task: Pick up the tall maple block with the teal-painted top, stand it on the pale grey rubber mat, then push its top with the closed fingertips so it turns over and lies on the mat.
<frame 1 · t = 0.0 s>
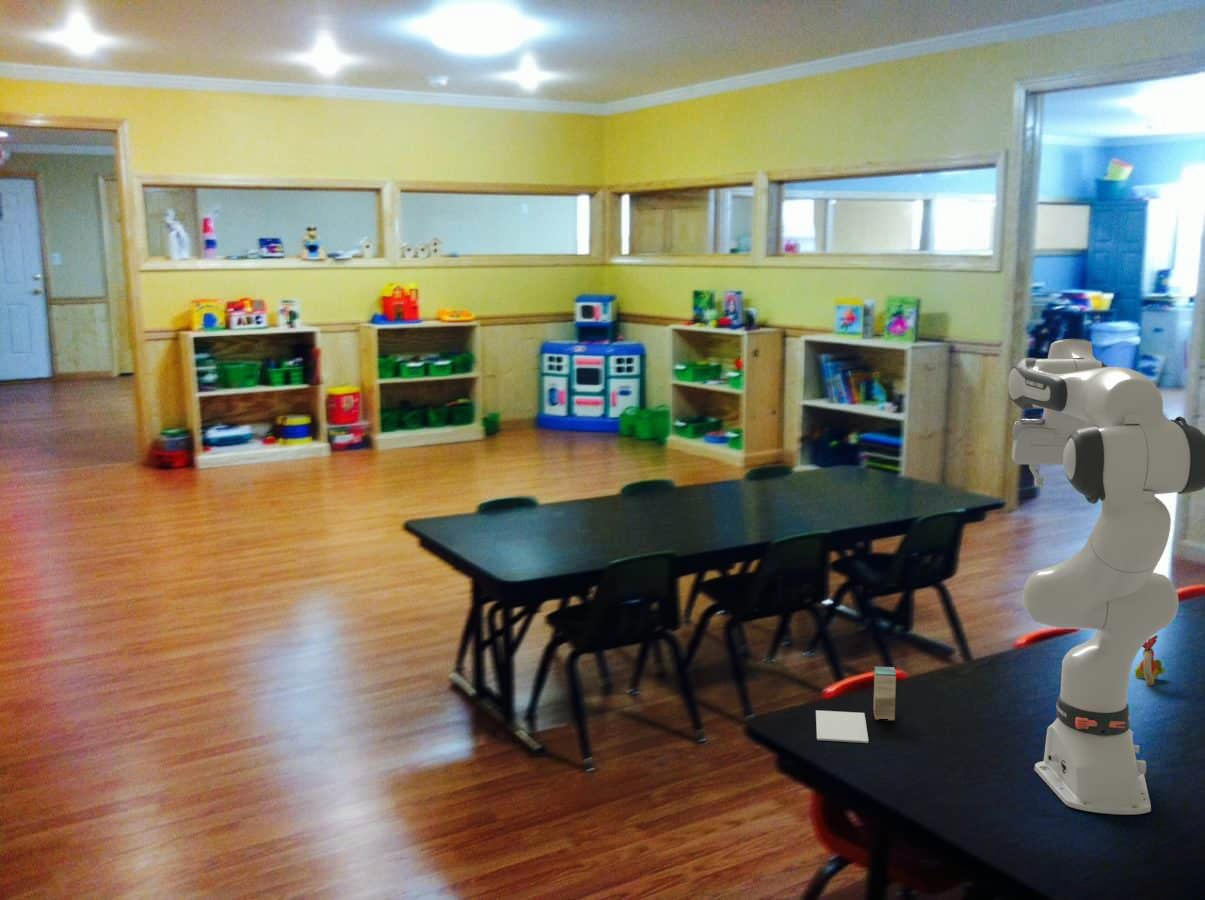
hand: (1063, 486, 223), 48 cm above the table, fingers open, 8 cm apart
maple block: (883, 715, 228), on the table
grey mat: (841, 727, 223), on the table
bird rattle: (1149, 682, 245), on the table
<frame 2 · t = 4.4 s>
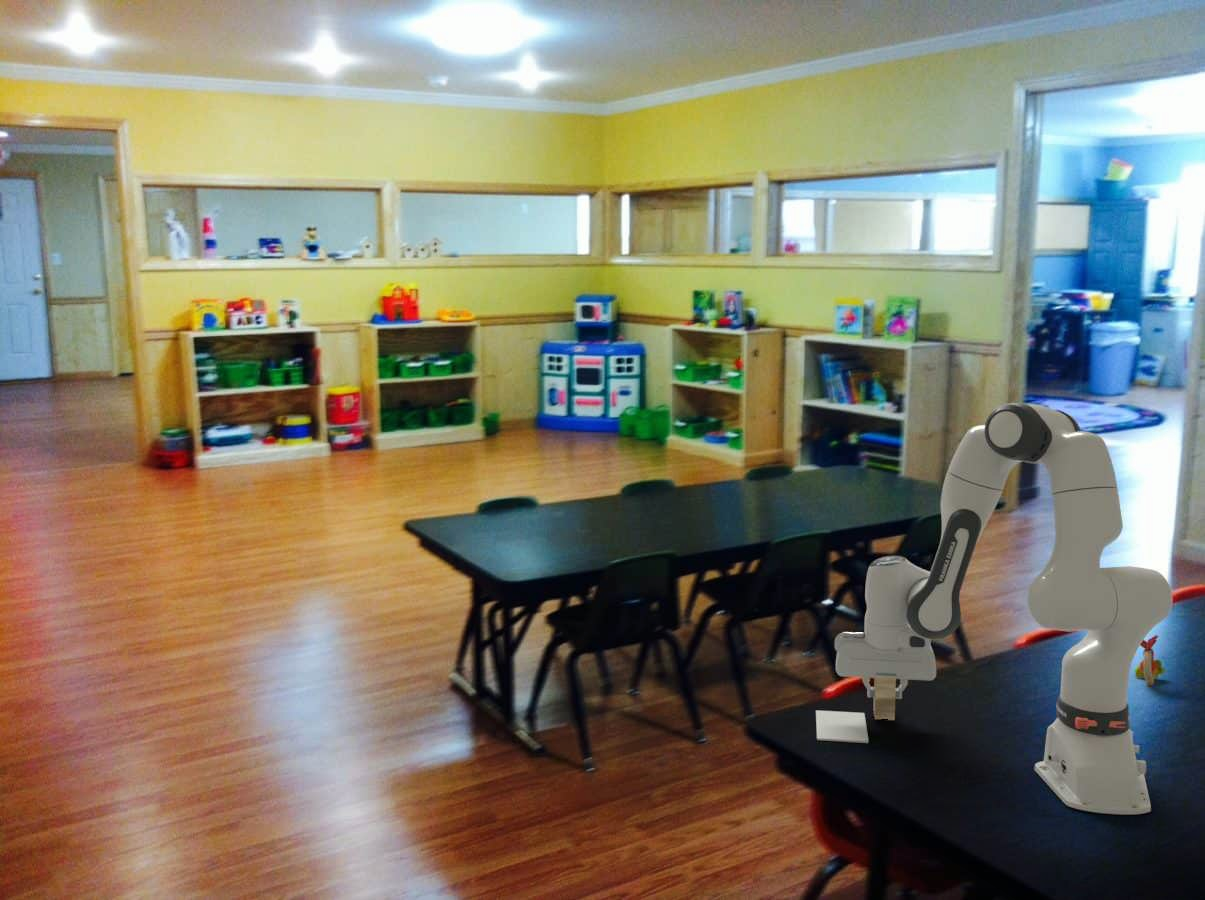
hand: (884, 697, 228), 4 cm above the table, fingers closed on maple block, 4 cm apart
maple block: (883, 715, 228), on the table, touching gripper
everything else where it was.
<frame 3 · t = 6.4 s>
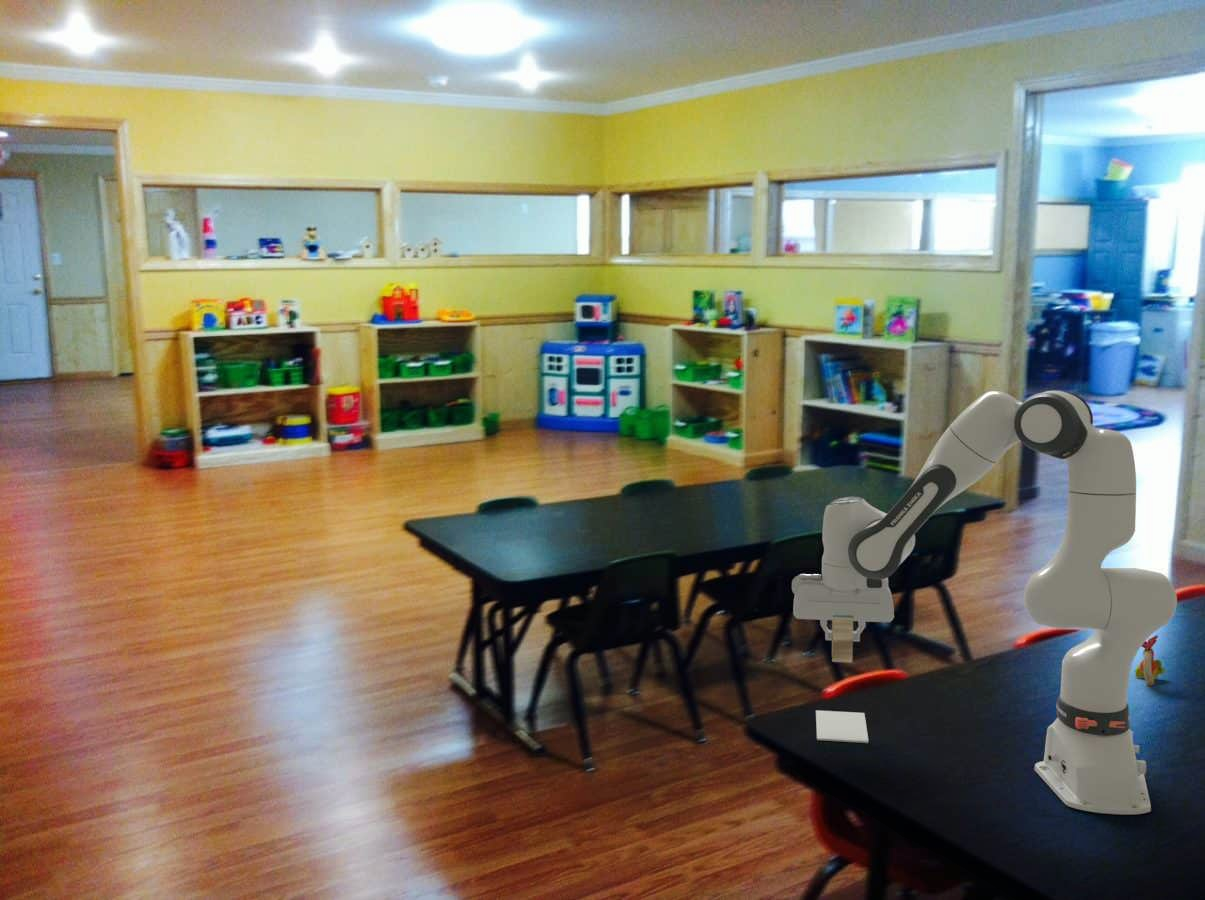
hand: (842, 640, 225), 17 cm above the table, fingers closed on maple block, 4 cm apart
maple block: (842, 658, 226), point 13 cm above the table, touching gripper
everything else where it was.
when the fingers open (6 cm above the table, at t = 8.7 s): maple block drops 1 cm, resting on grey mat.
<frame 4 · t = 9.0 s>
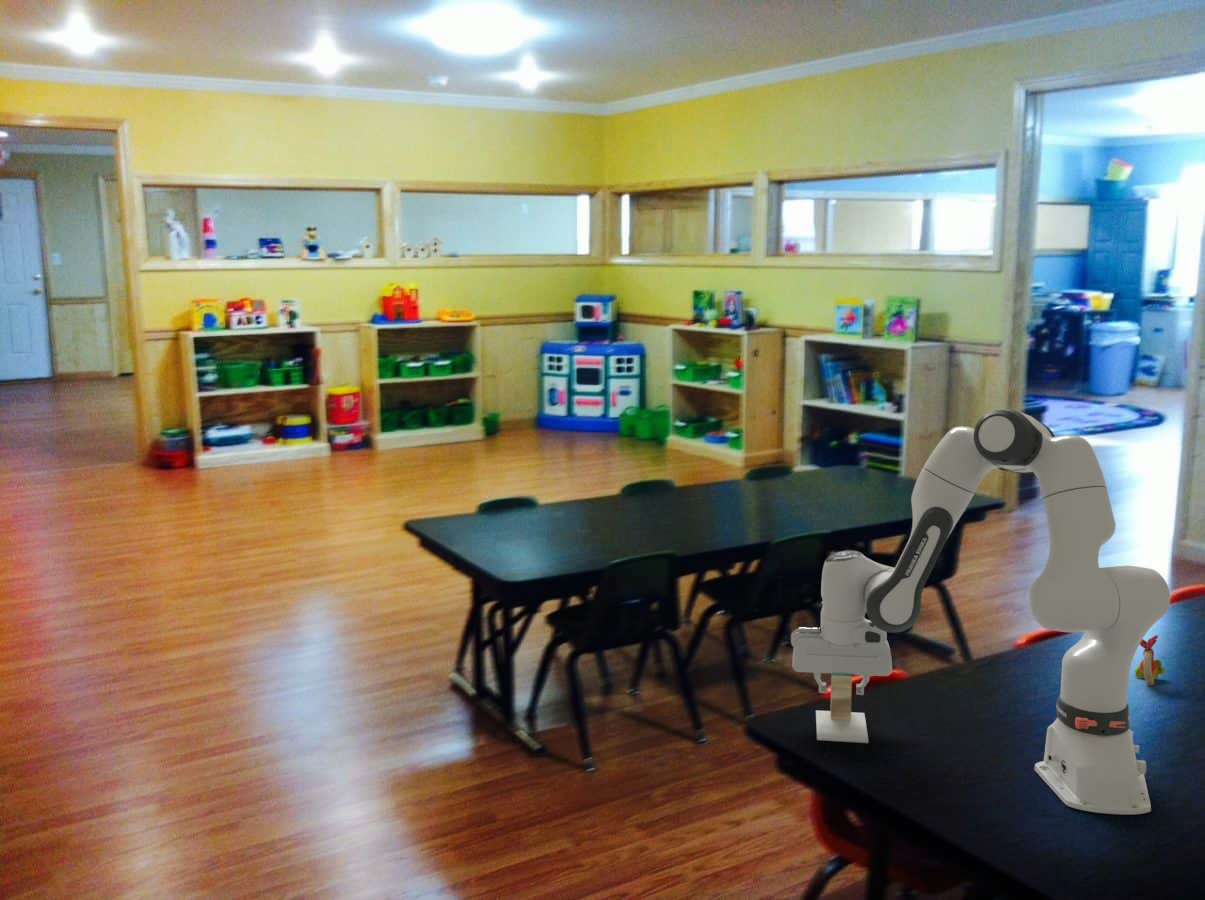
hand: (841, 692, 227), 6 cm above the table, fingers open, 6 cm apart
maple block: (840, 716, 228), resting on grey mat
everything else where it was.
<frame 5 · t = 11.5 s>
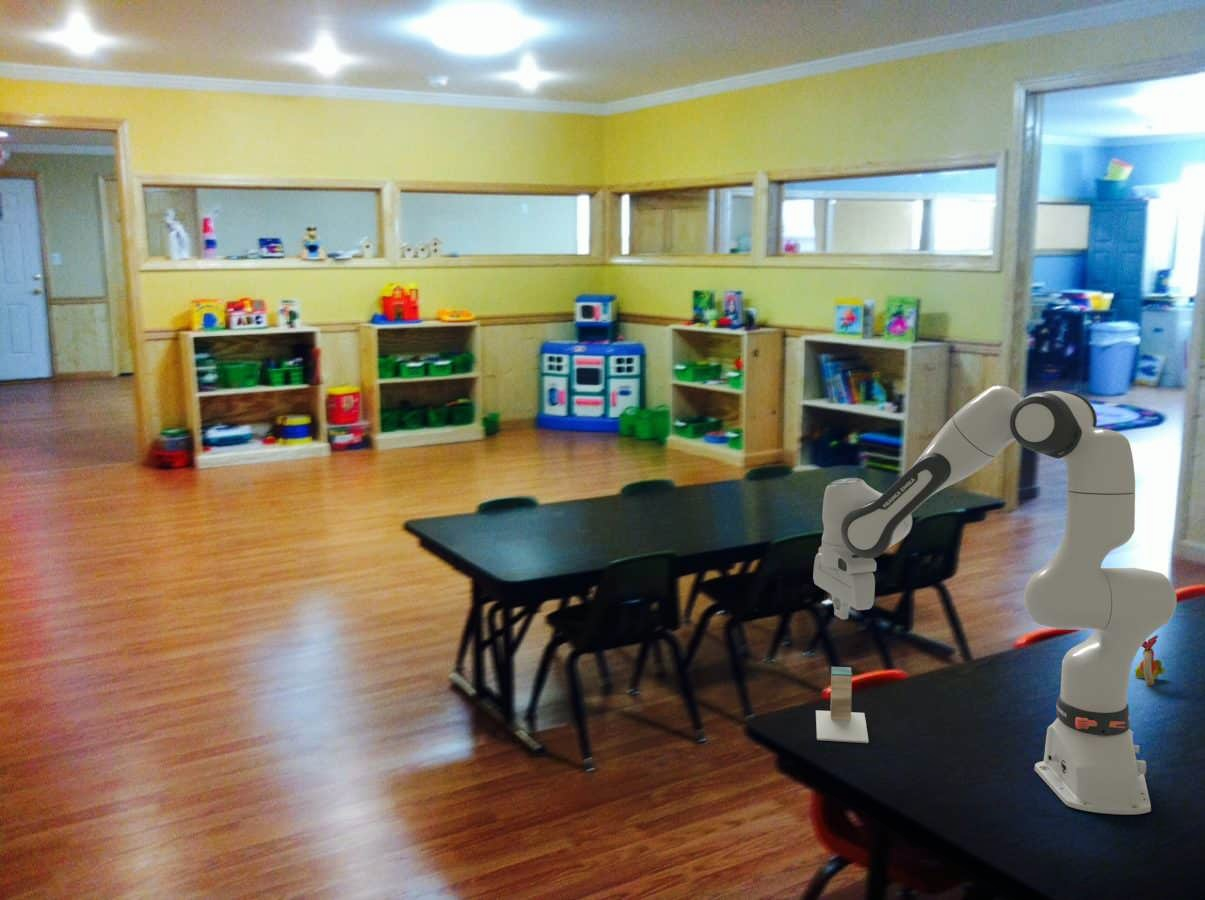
hand: (841, 617, 231), 20 cm above the table, fingers closed
nothing on the table moved.
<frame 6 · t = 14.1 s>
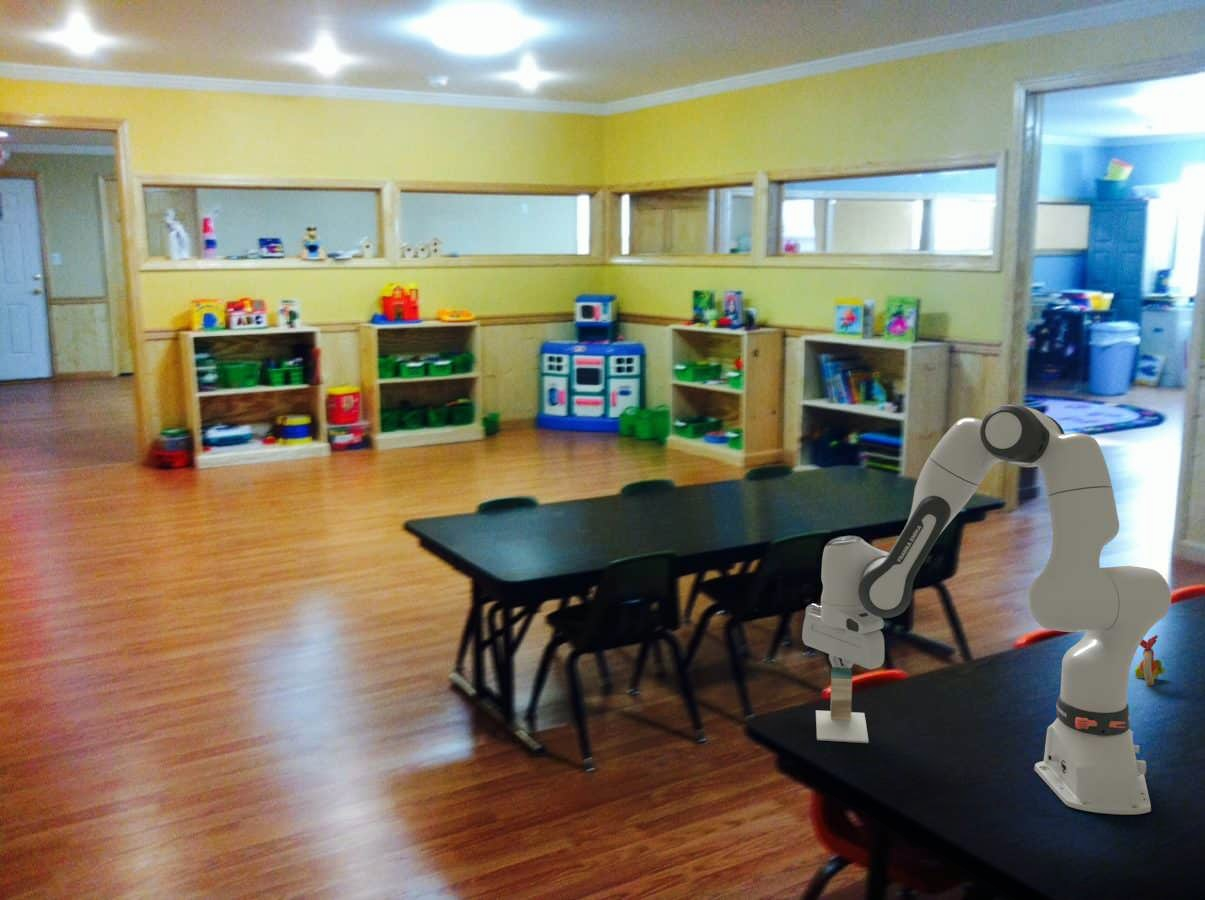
hand: (841, 676, 229), 8 cm above the table, fingers closed
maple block: (840, 715, 228), point 1 cm above the table, tilted 8°, touching grey mat
everything else where it was.
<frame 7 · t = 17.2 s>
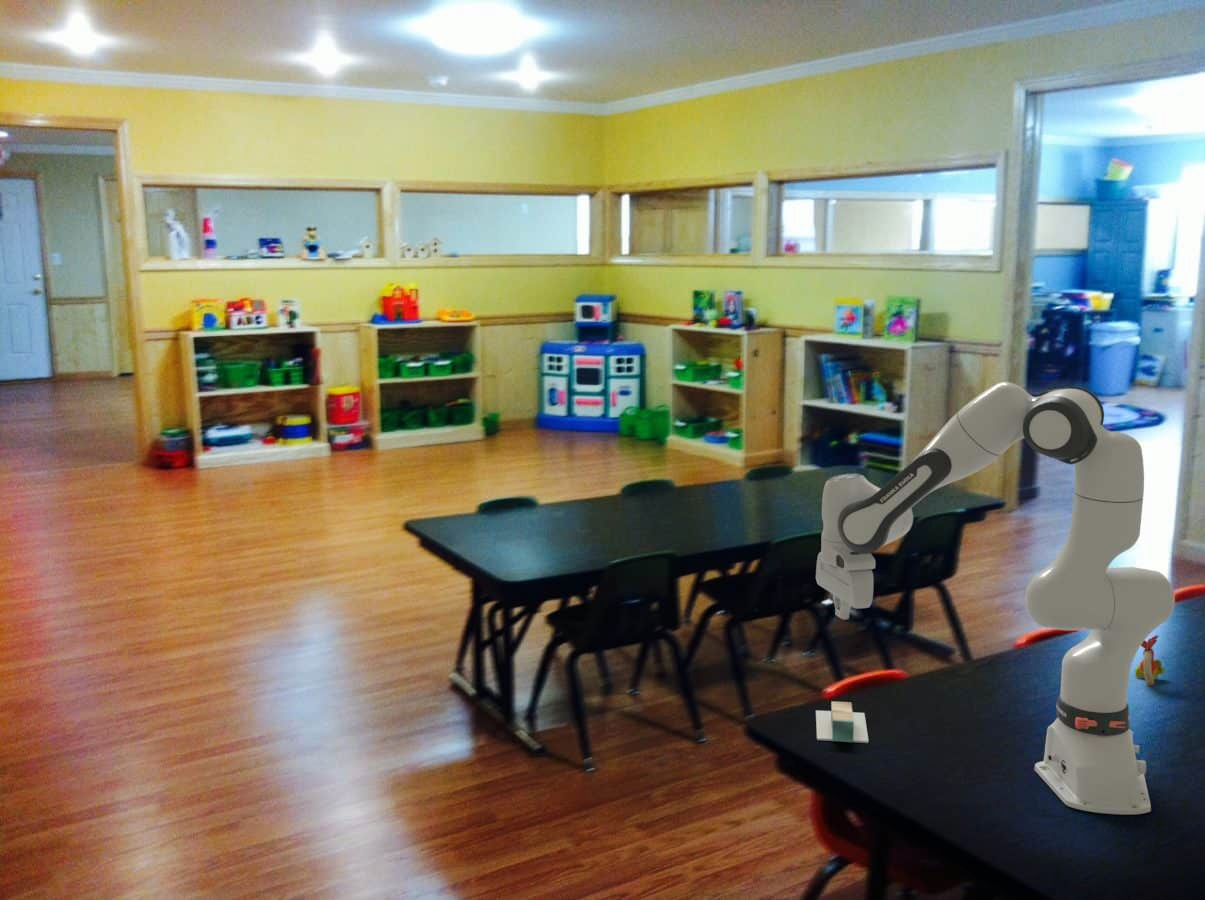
hand: (842, 617, 225), 22 cm above the table, fingers closed
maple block: (841, 711, 225), point 2 cm above the table, tilted 90°, touching grey mat
everything else where it was.
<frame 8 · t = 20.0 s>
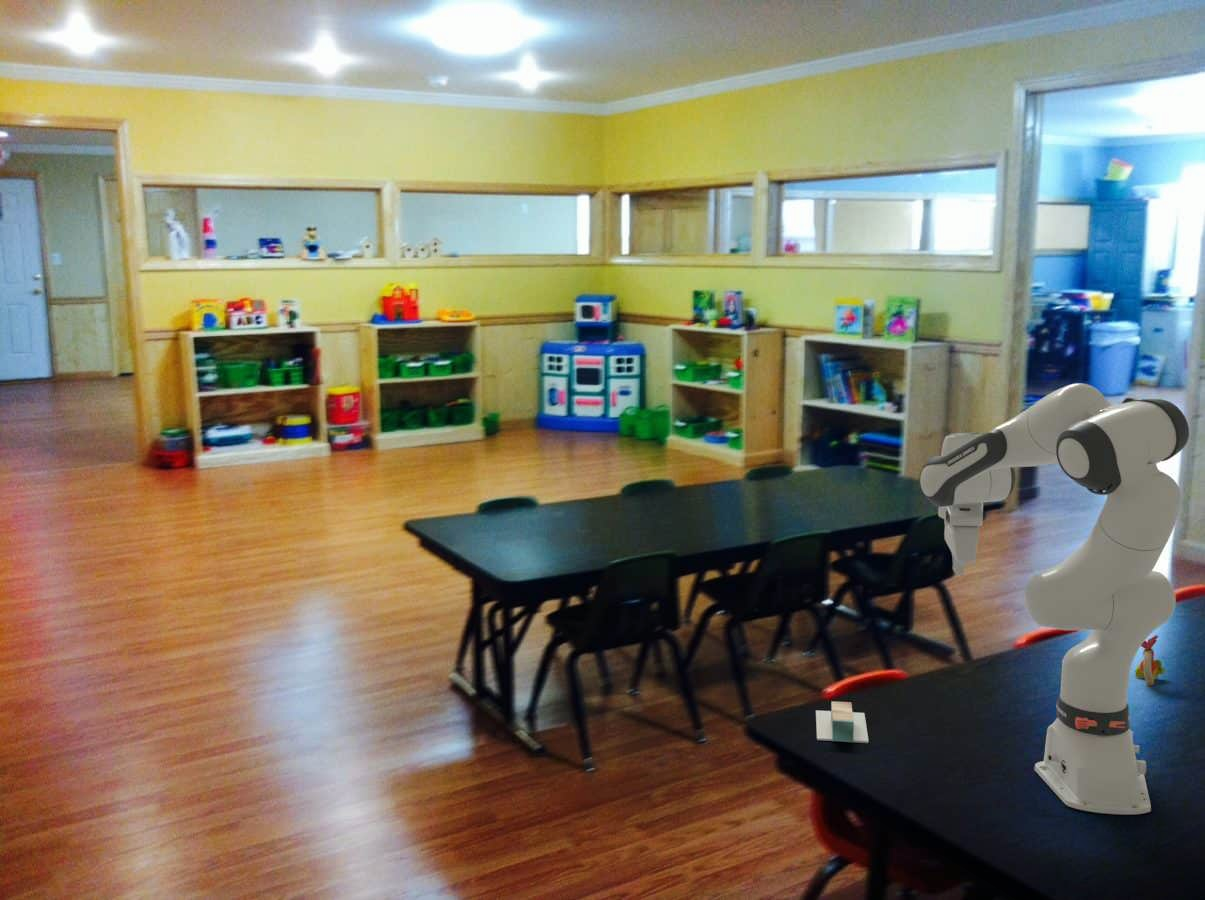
hand: (958, 573, 229), 29 cm above the table, fingers closed
nothing on the table moved.
at the end: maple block tilted 90°; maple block inside the target area (3.0 cm from its centre), point 2.4 cm above the table; the gripper is holding nothing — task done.
